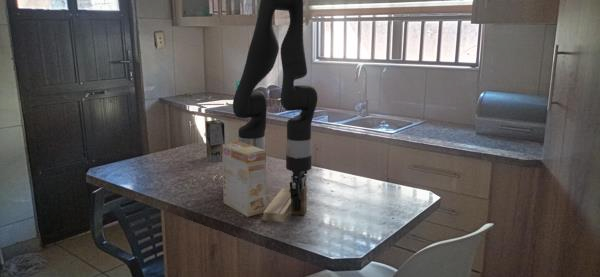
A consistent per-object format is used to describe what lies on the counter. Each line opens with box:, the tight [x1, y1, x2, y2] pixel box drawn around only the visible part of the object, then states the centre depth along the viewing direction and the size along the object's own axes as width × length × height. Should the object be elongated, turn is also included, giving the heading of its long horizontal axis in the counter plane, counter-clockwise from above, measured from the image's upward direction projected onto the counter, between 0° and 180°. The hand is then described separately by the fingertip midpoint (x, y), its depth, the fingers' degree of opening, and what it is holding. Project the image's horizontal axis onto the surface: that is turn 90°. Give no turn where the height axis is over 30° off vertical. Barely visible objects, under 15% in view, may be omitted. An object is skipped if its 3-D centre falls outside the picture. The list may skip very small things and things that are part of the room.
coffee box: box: [205, 119, 226, 163], centre depth 203 cm, size 9×6×16 cm
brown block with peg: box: [289, 184, 308, 216], centre depth 145 cm, size 5×4×8 cm
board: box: [262, 187, 291, 223], centre depth 150 cm, size 6×22×3 cm, turn 168°
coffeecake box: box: [221, 141, 267, 218], centre depth 148 cm, size 15×7×20 cm, turn 37°
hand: (298, 207), depth 145 cm, fingers closed on brown block with peg, 4 cm apart
